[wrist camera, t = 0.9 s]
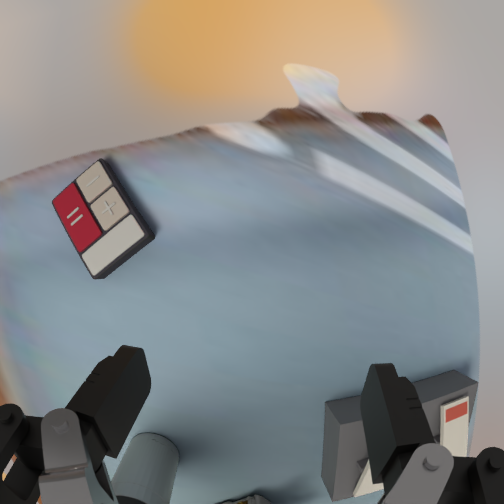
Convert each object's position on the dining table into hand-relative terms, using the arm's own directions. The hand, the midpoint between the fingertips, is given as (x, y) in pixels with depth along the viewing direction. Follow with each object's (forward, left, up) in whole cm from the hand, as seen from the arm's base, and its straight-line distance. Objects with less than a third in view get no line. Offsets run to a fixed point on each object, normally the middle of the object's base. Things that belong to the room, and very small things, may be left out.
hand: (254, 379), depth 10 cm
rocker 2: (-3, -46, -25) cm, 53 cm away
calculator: (-4, +22, -36) cm, 43 cm away
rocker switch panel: (-7, -40, -36) cm, 55 cm away
